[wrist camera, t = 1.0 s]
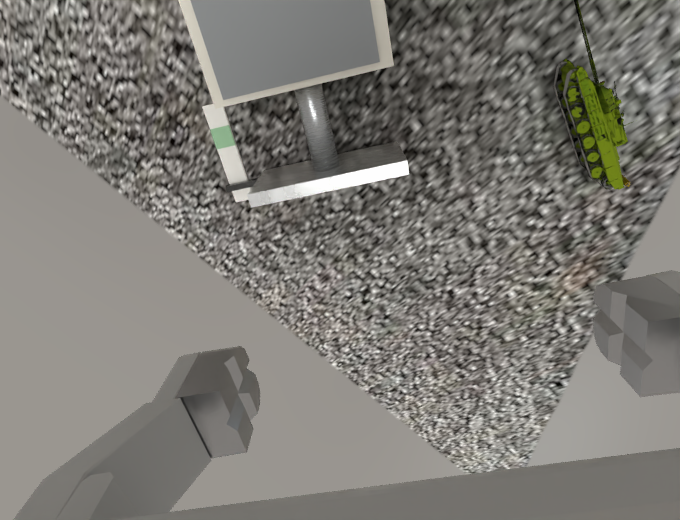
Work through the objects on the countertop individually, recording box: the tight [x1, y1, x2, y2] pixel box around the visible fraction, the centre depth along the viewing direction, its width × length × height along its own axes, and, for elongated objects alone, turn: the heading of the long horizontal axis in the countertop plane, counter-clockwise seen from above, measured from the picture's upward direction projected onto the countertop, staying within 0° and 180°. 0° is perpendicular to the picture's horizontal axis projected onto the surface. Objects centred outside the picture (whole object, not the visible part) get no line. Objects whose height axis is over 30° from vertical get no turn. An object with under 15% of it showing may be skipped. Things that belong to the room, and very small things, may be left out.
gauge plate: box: [226, 83, 409, 207], centre depth 37 cm, size 11×18×8 cm, turn 103°
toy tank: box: [553, 0, 632, 190], centre depth 36 cm, size 7×19×10 cm
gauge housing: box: [178, 0, 394, 202], centre depth 36 cm, size 18×18×10 cm
